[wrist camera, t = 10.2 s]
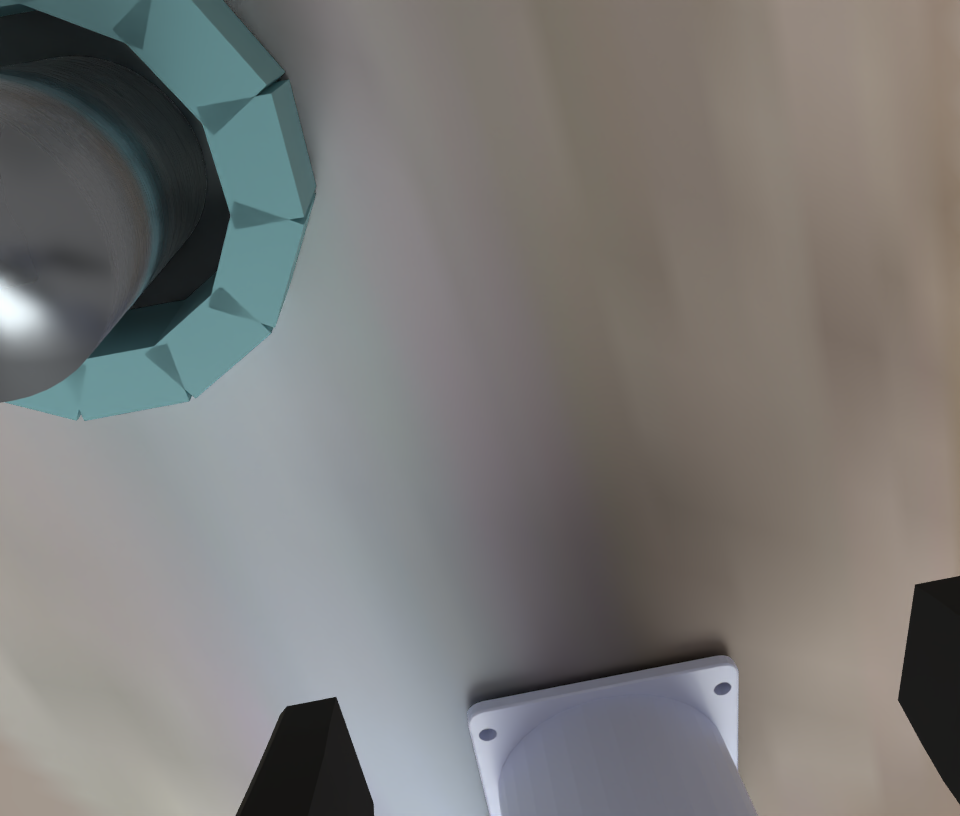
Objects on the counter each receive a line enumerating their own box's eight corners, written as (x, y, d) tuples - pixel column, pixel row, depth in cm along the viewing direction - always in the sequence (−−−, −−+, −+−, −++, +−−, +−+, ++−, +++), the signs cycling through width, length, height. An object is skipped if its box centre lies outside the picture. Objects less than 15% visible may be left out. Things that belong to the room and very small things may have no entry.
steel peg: (233, 250, 16) (155, 373, 11) (39, 285, 16) (-134, 427, 11) (165, 38, 14) (31, 61, 9) (-54, 77, 14) (-322, 124, 9)
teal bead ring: (351, 323, 17) (345, 372, 15) (-14, 391, 17) (-74, 450, 15) (241, -110, 13) (211, -133, 11) (-231, -28, 13) (-358, -33, 11)
